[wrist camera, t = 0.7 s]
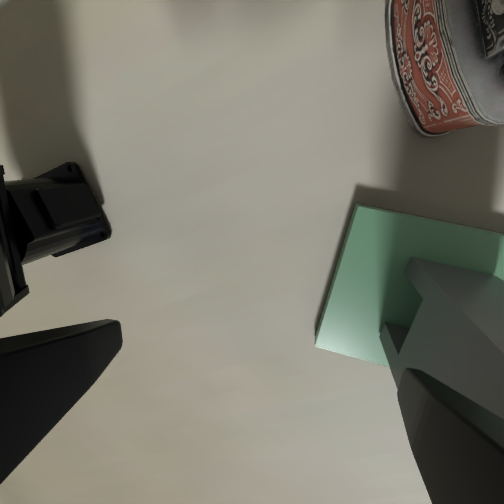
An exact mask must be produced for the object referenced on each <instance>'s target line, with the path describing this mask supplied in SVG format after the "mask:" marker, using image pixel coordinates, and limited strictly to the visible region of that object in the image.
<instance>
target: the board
mask: <svg viewBox="0 0 504 504" xmlns="http://www.w3.org/2000/svg"><path fill="white" fill-rule="evenodd" d="M411 257H414V258H419V259H423V260H428V261H432V262H436V263H441V264H445V265H450V266H454V267H459V268H463V269H468V270H472V271H476V272H481V273H485V274H490V275H494V276H497V277H499V278H500V279H502V280H503V281H504V234H503V233H498V232H493V231H489V230H484V229H479V228H474V227H469V226H464V225H459V224H454V223H450V222H445V221H440V220H435V219H430V218H425V217H420V216H416V215H411V214H406V213H401V212H396V211H391V210H386V209H381V208H377V207H372V206H367V205H362V204H357V203H356V204H355V207H354V211H353V214H352V217H351V220H350V224H349V227H348V230H347V234H346V237H345V240H344V243H343V247H342V250H341V253H340V256H339V260H338V263H337V266H336V270H335V273H334V276H333V279H332V283H331V286H330V289H329V292H328V296H327V299H326V302H325V306H324V309H323V312H322V315H321V319H320V322H319V325H318V329H317V332H316V335H315V347H319V348H322V349H326V350H330V351H333V352H337V353H340V354H344V355H347V356H351V357H355V358H358V359H362V360H365V361H369V362H372V363H376V364H380V365H383V366H387V367H390V366H389V363H388V360H387V358H386V355H385V352H384V349H383V346H382V343H381V341H380V338H379V336H380V333H381V331H382V328H383V326H384V323H389V324H392V325H396V326H400V327H404V328H408V329H410V328H411V325H412V323H413V321H414V319H415V316H416V314H417V312H418V310H419V307H420V305H421V303H422V301H423V298H422V296H421V295H420V294H419V292H418V291H417V290H416V288H415V287H414V286H413V284H412V283H411V282H410V280H409V279H408V278H407V277H406V275H405V274H404V273H405V271H406V268H407V266H408V263H409V261H410V258H411Z"/></svg>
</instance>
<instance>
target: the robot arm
mask: <svg viewBox="0 0 504 504" xmlns="http://www.w3.org/2000/svg"><path fill="white" fill-rule="evenodd" d="M71 166H72V168H73V171H72V169H71ZM3 174H5V173H4V168H3V165H0V317H1V316H2V315H3V314H4V313H5V312H6V311H8V310H9V309H10V308H11V307H13V306H14V305H15V304H16V303H18V302H19V301H20V300H21V299H22V298H24V297H25V296H26V295H27V294H29V288H28V285H26V282H25V277H24V272H23V267H22V265H24V264H27V263H29V262H32V261H35V260H38V259H40V258H43V257H46V256H48V255H52V256H54V257H59V256H62V255H64V254H67V253H70V252H73V251H76V250H78V249H81V248H84V247H87V246H90V245H93V244H95V243H98V242H101V241H104V240H106V239H109V238H110V236H111V233H110V230H109V228H108V226H107V224H106V222H105V220H104V218H103V216H102V214H101V212H100V209H99V207H98V205H97V203H96V201H95V199H94V197H93V195H92V193H91V191H90V189H89V187H88V185H87V183H86V180H85V178H84V176H83V174H82V172H81V170H80V168H79V166H78V165H77V164H76V163H75V162H67V163H65V164H63V165H61V166H59V167H57V168H54V169H52V170H50V171H48V172H46V173H44V174H42V175H40V176H38V177H36V178H34V179H28V180H16V181H4V177H3ZM103 232H104V233H105V236H104V235H103ZM122 342H123V340H122V332H121V324H120V322H119V321H117V320H112V319H105V320H99V321H94V322H88V323H83V324H77V325H72V326H66V327H60V328H55V329H49V330H44V331H38V332H33V333H27V334H22V335H16V336H11V337H5V338H0V484H1V483H2V482H3V481H4V480H5V479H6V478H7V477H8V476H9V475H10V473H11V472H12V471H13V470H14V469H15V468H16V467H17V466H18V465H19V464H20V463H21V462H22V461H23V460H24V458H25V457H26V456H27V455H28V454H29V453H30V452H31V451H32V450H33V449H34V448H35V447H36V446H37V444H38V443H39V442H40V441H41V440H42V439H43V438H44V437H45V436H46V435H47V434H48V433H49V432H50V430H51V429H52V428H53V427H54V426H55V425H56V424H57V423H58V422H59V421H60V420H61V419H62V418H63V416H64V415H65V414H66V413H67V412H68V411H69V410H70V409H71V408H72V407H73V406H74V405H75V404H76V402H77V401H78V400H79V399H80V398H81V397H82V396H83V395H84V394H85V393H86V392H87V391H88V390H89V388H90V387H91V386H92V385H93V384H94V383H95V382H96V380H97V379H98V378H99V377H100V375H101V374H102V373H103V371H104V370H105V369H106V367H107V366H108V365H109V363H110V362H111V361H112V360H113V358H114V357H115V356H116V354H117V353H118V352H119V350H120V349H121V347H122ZM397 396H398V402H399V406H400V409H401V413H402V417H403V421H404V424H405V428H406V432H407V436H408V440H409V443H410V446H411V450H412V452H413V455H414V458H415V460H416V463H417V466H418V468H419V471H420V473H421V476H422V479H423V481H424V484H425V486H426V489H427V491H428V494H429V497H430V499H431V502H432V504H504V419H502V418H501V417H499V416H497V415H496V414H494V413H492V412H491V411H489V410H487V409H486V408H484V407H482V406H481V405H479V404H477V403H476V402H474V401H472V400H471V399H469V398H467V397H465V396H464V395H462V394H460V393H459V392H457V391H455V390H454V389H452V388H450V387H449V386H447V385H445V384H444V383H442V382H440V381H439V380H437V379H435V378H434V377H432V376H430V375H429V374H427V373H425V372H424V371H422V370H420V369H415V368H408V367H406V368H404V370H403V372H402V376H401V379H400V383H399V387H398V392H397Z"/></svg>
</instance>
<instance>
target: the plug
mask: <svg viewBox="0 0 504 504" xmlns="http://www.w3.org/2000/svg"><path fill="white" fill-rule="evenodd" d="M404 274H405V275H406V277H407V278H408V279H409V280H410V282H411V283H412V284H413V286H414V287H415V288H416V290H417V291H418V292H419V294H420V295H421V296H422V298H423V301H422V303H421V305H420V307H419V310H418V312H417V314H416V316H415V319H414V321H413V323H412V325H411V328H410V329H408V328H404V327H400V326H396V325H392V324H389V323H384V326H383V328H382V331H381V333H380V336H379V338H380V341H381V343H382V346H383V349H384V352H385V355H386V358H387V360H388V363H389V366H390V369H391V372H392V375H393V378H394V380H395V383H396V386H397V389H398V387H399V383H400V379H401V376H402V372H403V370H404V368H406V367H408V368H415V369H420V370H422V371H424V372H425V373H427V374H429V375H430V376H432V377H434V378H435V379H437V380H439V381H440V382H442V383H444V384H445V385H447V386H449V387H450V388H452V389H454V390H455V391H457V392H459V393H460V394H462V395H464V396H465V397H467V398H469V399H471V400H472V401H474V402H476V403H477V404H479V405H481V406H482V407H484V408H486V409H487V410H489V411H491V412H492V413H494V414H496V415H497V416H499V417H501V418H502V419H504V281H503V280H502V279H500V278H499V277H497V276H494V275H490V274H485V273H481V272H476V271H472V270H468V269H463V268H459V267H454V266H450V265H445V264H441V263H436V262H432V261H428V260H423V259H419V258H414V257H411V258H410V261H409V263H408V266H407V268H406V271H405V273H404Z"/></svg>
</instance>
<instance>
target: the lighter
mask: <svg viewBox="0 0 504 504" xmlns="http://www.w3.org/2000/svg"><path fill="white" fill-rule="evenodd" d="M385 30H386V48H387V54H388V60H389V65H390V71H391V77H392V81H393V84H394V87H395V90H396V93H397V96H398V99H399V102H400V104H401V107H402V109H403V111H404V113H405V115H406V117H407V119H408V121H409V123H410V125H411V127H412V129H413V130H414V131H415V133H416V134H418V135H420V136H422V137H436V136H441V135H445V134H447V133H449V132H451V131H453V130H456V129H461V128H466V127H471V126H477V125H482V124H483V125H485V126H502V125H504V0H390V1H389V3H388V5H387V7H386V12H385Z"/></svg>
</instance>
